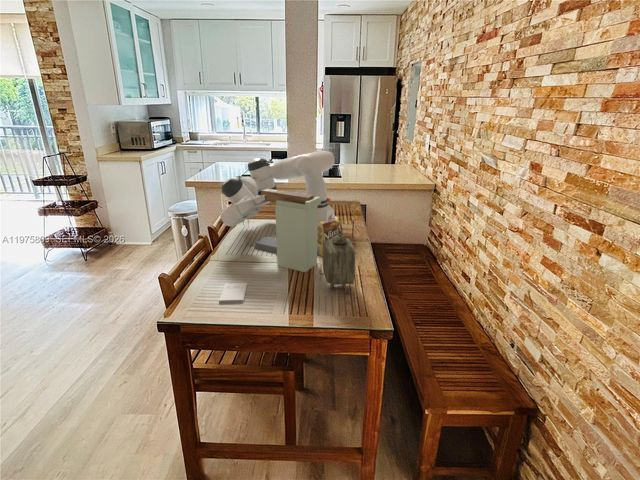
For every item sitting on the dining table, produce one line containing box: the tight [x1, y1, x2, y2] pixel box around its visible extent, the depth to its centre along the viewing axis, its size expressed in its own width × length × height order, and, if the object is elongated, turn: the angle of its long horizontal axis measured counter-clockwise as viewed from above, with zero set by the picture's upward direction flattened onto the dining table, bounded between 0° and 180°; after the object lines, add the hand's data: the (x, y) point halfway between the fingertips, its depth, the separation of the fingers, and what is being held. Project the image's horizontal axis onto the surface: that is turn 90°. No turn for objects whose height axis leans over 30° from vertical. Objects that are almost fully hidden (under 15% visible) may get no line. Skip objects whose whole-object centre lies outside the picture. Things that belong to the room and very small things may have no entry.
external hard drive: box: [218, 282, 248, 304], centre depth 132 cm, size 2×8×12 cm
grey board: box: [254, 236, 277, 253], centre depth 169 cm, size 9×28×2 cm, turn 61°
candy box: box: [317, 218, 340, 257], centre depth 164 cm, size 9×4×15 cm, turn 123°
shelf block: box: [274, 196, 321, 273], centre depth 149 cm, size 10×15×29 cm, turn 61°
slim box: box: [261, 189, 314, 204], centre depth 147 cm, size 4×22×4 cm, turn 61°
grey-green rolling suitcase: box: [322, 221, 356, 295], centre depth 132 cm, size 14×9×25 cm, turn 8°
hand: (271, 194), depth 150 cm, fingers open, 8 cm apart
